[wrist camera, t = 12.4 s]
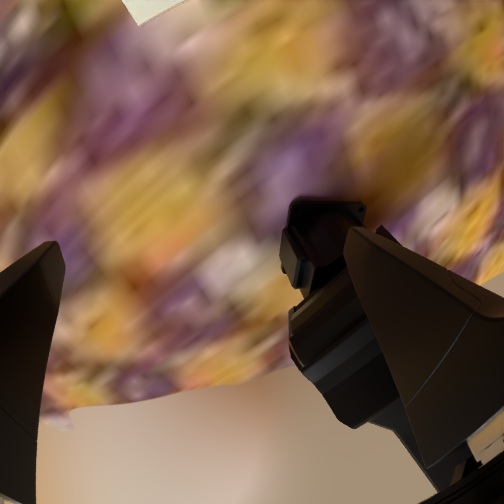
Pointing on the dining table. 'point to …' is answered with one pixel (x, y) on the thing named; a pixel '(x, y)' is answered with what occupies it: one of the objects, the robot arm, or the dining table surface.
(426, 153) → the dining table surface
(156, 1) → the white tile
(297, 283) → the robot arm
